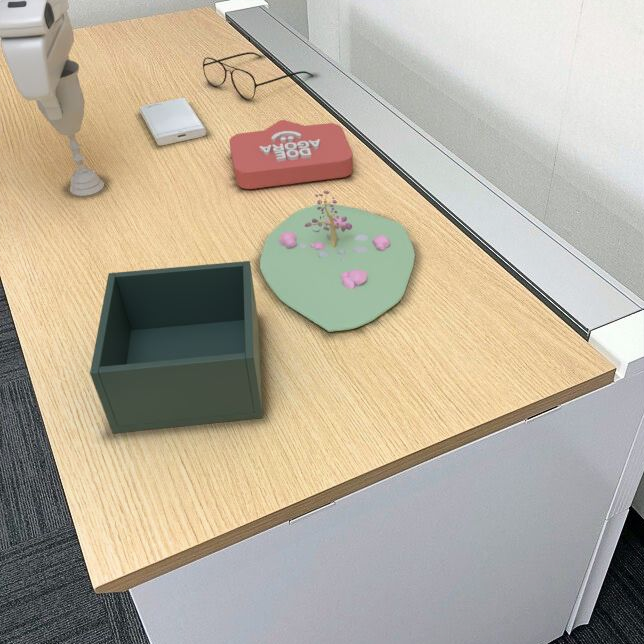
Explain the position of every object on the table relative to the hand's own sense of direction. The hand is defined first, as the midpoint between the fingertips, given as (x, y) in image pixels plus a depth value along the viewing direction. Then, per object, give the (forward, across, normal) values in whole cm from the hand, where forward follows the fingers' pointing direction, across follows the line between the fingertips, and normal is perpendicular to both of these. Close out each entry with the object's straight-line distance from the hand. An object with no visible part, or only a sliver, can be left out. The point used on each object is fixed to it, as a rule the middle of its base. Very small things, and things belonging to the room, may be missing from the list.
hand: (61, 102), depth 102 cm
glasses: (+14, -34, +27) cm, 45 cm away
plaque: (+14, -3, +31) cm, 34 cm away
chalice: (+14, 0, 0) cm, 14 cm away
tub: (+13, +42, +17) cm, 47 cm away
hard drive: (+14, -18, +12) cm, 25 cm away
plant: (+14, +25, +36) cm, 46 cm away
